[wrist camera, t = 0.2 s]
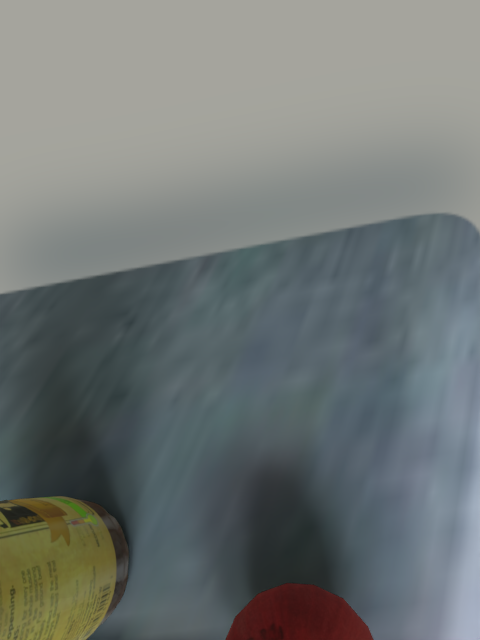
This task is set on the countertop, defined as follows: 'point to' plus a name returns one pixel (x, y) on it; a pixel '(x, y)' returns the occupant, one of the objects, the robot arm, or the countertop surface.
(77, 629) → the sauce bottle
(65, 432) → the countertop surface
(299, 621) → the onion
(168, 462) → the countertop surface
